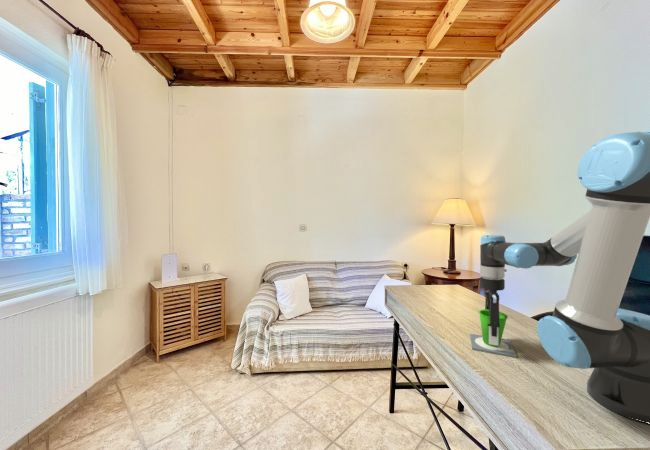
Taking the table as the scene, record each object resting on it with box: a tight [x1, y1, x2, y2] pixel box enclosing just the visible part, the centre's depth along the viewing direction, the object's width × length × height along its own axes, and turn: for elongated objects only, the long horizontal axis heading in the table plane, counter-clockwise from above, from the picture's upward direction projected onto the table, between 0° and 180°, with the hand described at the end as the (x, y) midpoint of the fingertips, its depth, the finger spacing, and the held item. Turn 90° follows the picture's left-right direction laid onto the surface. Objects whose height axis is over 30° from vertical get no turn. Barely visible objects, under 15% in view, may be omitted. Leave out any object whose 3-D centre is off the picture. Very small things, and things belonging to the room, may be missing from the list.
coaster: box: [469, 333, 518, 359], centre depth 97 cm, size 13×13×1 cm
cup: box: [478, 308, 509, 347], centre depth 96 cm, size 9×9×11 cm
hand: (491, 338), depth 97 cm, fingers open, 10 cm apart
